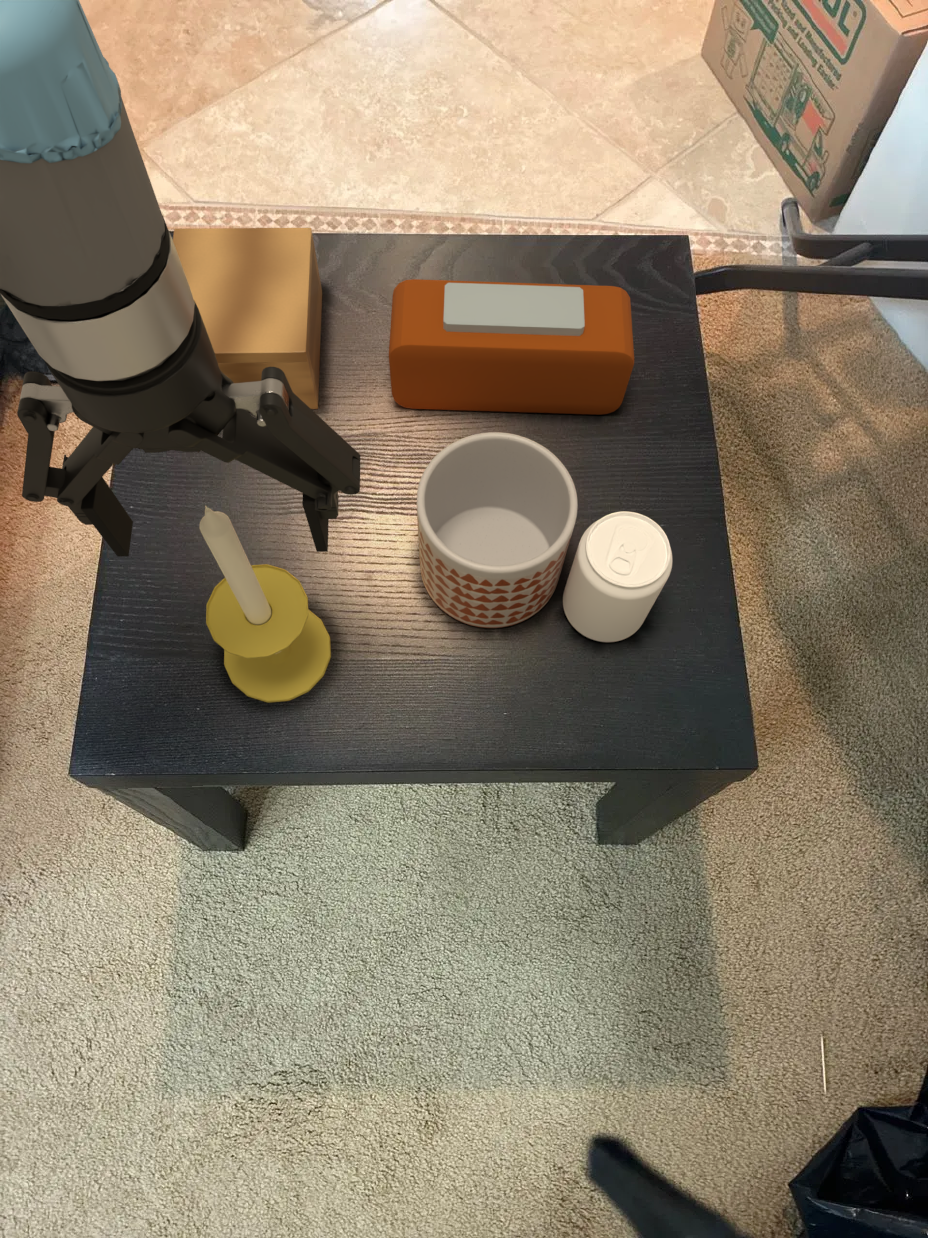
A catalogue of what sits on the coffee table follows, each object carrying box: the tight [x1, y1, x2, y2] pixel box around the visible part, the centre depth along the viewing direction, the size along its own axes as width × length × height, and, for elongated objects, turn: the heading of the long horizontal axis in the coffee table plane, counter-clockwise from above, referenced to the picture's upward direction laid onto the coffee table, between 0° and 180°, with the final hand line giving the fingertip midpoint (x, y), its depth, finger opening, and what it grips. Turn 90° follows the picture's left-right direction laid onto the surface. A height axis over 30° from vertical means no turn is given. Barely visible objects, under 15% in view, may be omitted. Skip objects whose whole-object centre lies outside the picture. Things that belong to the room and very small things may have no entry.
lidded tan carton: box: [172, 227, 323, 410], centre depth 90 cm, size 14×16×9 cm
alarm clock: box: [388, 278, 635, 416], centre depth 89 cm, size 24×8×11 cm, turn 89°
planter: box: [416, 431, 579, 629], centre depth 79 cm, size 14×14×13 cm
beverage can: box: [562, 510, 673, 643], centre depth 78 cm, size 8×8×12 cm
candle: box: [198, 505, 332, 704], centre depth 69 cm, size 10×10×27 cm
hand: (224, 537), depth 60 cm, fingers open, 13 cm apart
